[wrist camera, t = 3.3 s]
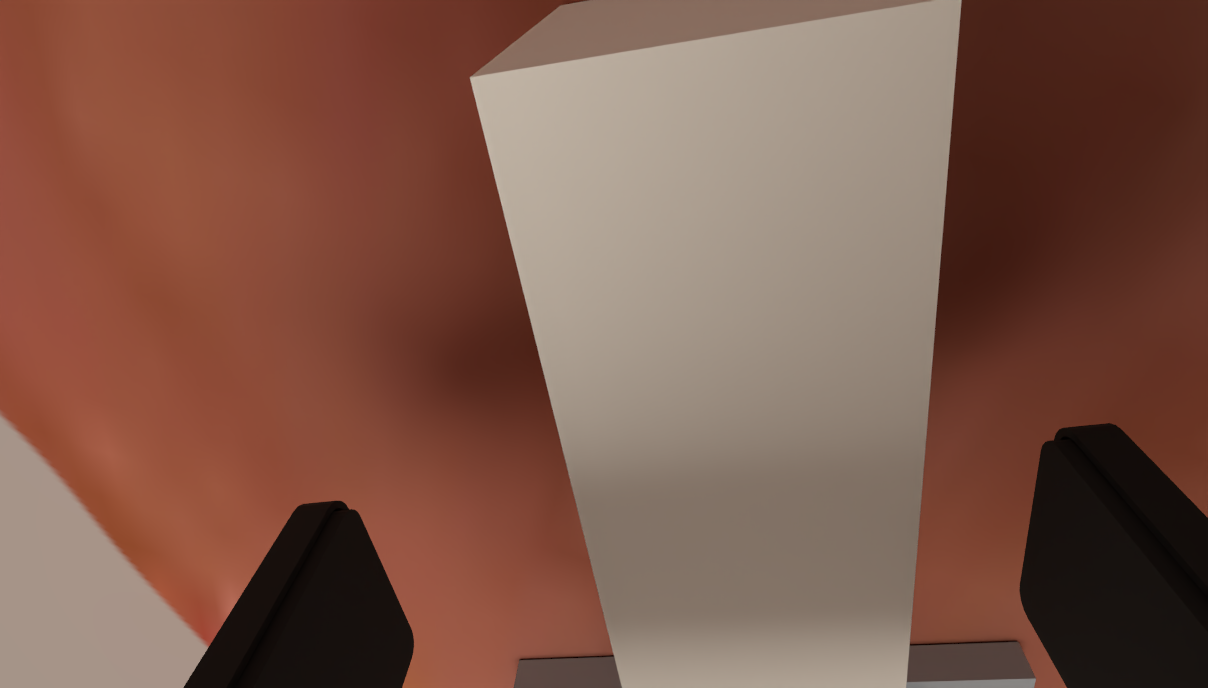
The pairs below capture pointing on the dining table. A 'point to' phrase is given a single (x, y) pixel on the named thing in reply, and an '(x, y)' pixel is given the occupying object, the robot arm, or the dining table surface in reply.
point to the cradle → (934, 677)
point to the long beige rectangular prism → (736, 316)
